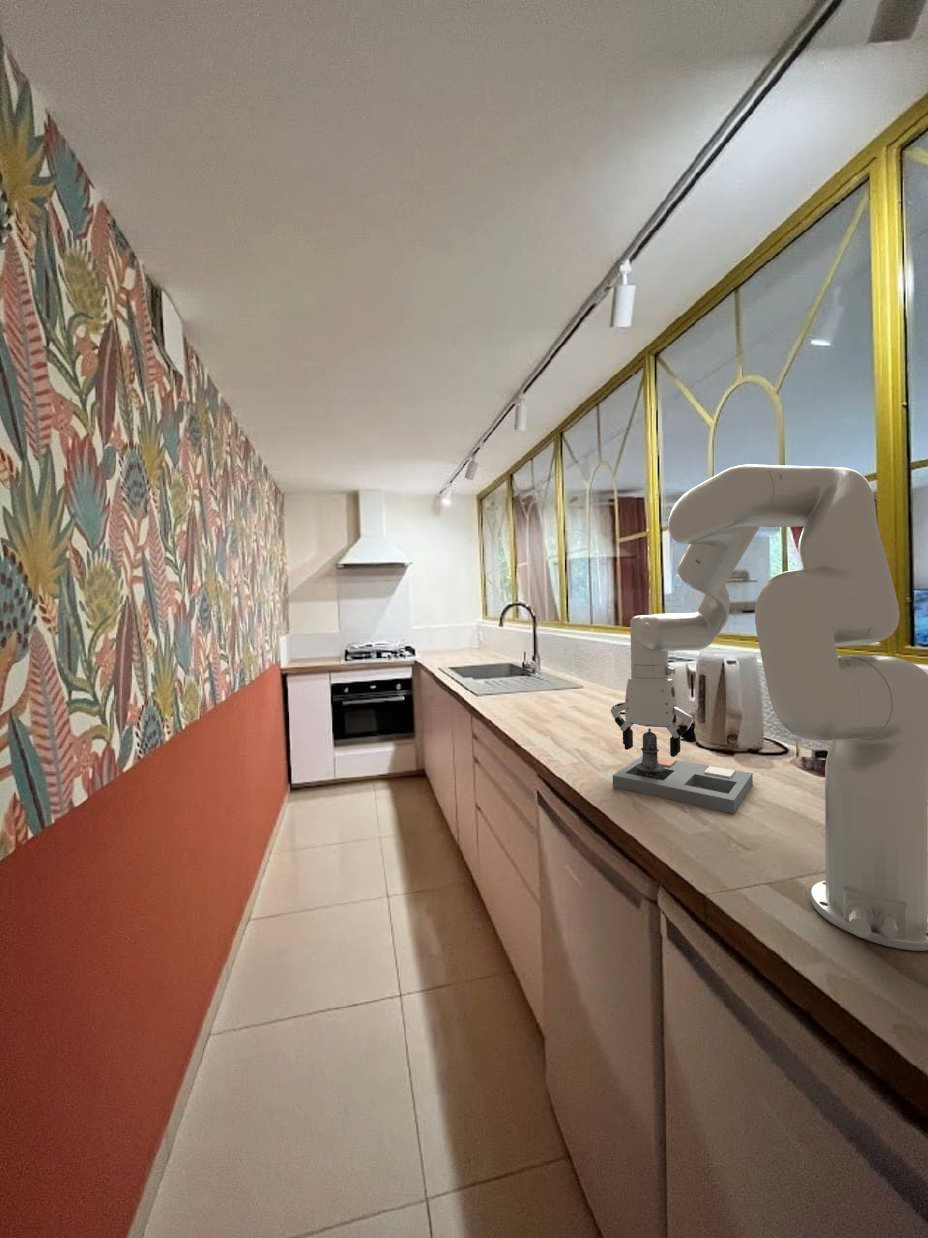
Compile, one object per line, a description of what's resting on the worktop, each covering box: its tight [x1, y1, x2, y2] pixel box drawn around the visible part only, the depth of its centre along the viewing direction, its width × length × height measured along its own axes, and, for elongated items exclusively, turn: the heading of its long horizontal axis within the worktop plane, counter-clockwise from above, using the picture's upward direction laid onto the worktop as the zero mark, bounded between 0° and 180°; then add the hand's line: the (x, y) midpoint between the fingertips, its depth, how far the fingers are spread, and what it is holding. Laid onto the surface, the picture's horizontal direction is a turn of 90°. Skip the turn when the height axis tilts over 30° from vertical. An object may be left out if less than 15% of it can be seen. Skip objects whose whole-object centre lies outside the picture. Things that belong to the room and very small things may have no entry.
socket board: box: [612, 754, 754, 815], centre depth 105 cm, size 19×23×3 cm
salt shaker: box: [636, 727, 665, 780], centre depth 106 cm, size 6×6×12 cm
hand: (650, 751), depth 106 cm, fingers open, 9 cm apart
